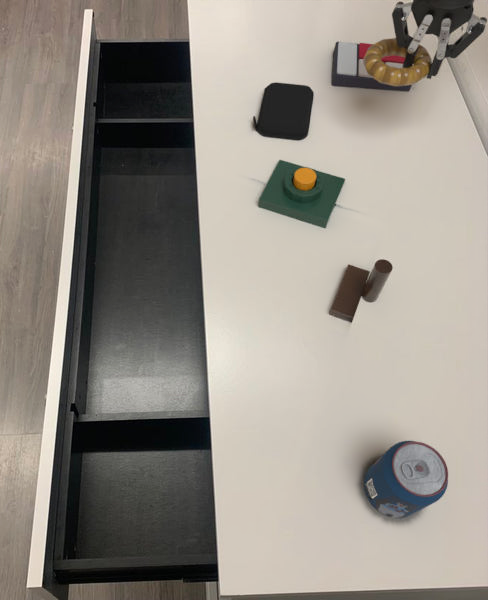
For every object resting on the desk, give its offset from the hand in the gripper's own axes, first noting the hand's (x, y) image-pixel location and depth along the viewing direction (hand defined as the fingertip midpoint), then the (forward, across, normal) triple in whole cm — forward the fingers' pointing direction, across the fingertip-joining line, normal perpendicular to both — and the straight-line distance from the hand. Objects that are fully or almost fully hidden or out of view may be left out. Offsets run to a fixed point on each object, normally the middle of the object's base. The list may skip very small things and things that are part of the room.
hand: (418, 73), depth 86 cm
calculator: (+14, +9, -16) cm, 23 cm away
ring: (-1, +4, 0) cm, 4 cm away
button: (+10, +11, +20) cm, 25 cm away
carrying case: (+14, +21, +2) cm, 26 cm away
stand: (+14, -5, +36) cm, 39 cm away
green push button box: (+14, +11, +20) cm, 27 cm away
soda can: (+14, -15, +62) cm, 65 cm away
